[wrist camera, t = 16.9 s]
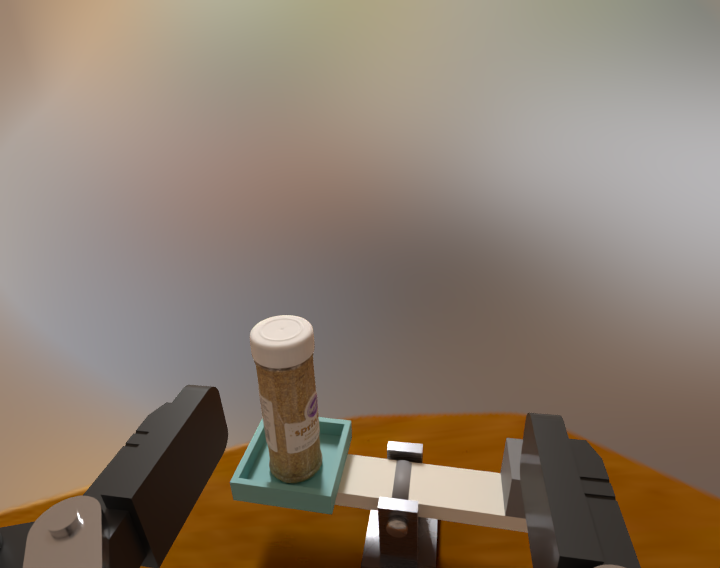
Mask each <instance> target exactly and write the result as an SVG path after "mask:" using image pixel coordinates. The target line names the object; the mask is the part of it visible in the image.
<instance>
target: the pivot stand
mask: <svg viewBox="0 0 720 568" xmlns="http://www.w3.org/2000/svg"><path fill="white" fill-rule="evenodd" d="M387 459H390V460H398V461H399V460H406V461H409V462H414V463H422V460H423V444H414V443H403V442H393V441H388V448H387ZM437 520H438V519H431V518H424V517H418V501H412V500H404V499H395V498H387V497H379V503H378V511H376V510H371V513H370V518H369V524H368V530H367V535H366V541H365V546H364V552H363V558H362V563H361V568H436V549H437Z"/></svg>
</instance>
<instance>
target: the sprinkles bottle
mask: <svg viewBox="0 0 720 568" xmlns="http://www.w3.org/2000/svg"><path fill="white" fill-rule="evenodd" d="M250 345H251V352H252V357H253V359H254V362H255V364H256V369H257V376H258V383H259V396H260V402H261V409H262V416H263V423H264V430H265V436H266V442H267V444H268V449H269V457H270V461H269V467H270V470H271V473H272V474H273V475H274V476H275V477H276V478H277V479H278V480H281V481H282V482H285V483H298V482H303V481H305V480H308V479H310V478H311V477H313V476H314V474H316V473H317V471H318V470H319V469H320V467H321V465H322V453H321V450H320V439H319V432H320V427H319V416H318V404H317V393H316V389H315V377H314V366H313V352H314V334H313V328H312V326H311V324H310V323H309V322H308V321H307V320H305V319H303V318H301V317H297V316H290V315H281V316H275V317H271V318H268V319H265V320H263V321H261V322H259V323H258V324H257V325H256V326H254V328H253V329H252V330H251V333H250Z"/></svg>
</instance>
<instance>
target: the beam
mask: <svg viewBox="0 0 720 568" xmlns="http://www.w3.org/2000/svg"><path fill="white" fill-rule="evenodd" d="M319 427H320V432H319V439H320V450H321V453H322V465H321V467H320V469H319V470H318V471H317V473H316V474H314V476H313V477H311V478H310V479H308V480H305V481H303V482H298V483H285V482H282V481H281V480H278V479H277V478H276V477H275V476H274V475H273V474H272V473H271V470H270V467H269V461H270V457H269V449H268V444H267V442H266V436H265V430H264V423H263V419H262V420H261V422H260V424H259V426H258V428H257V430H256V432H255V434H254V436H253V438H252V440H251V442H250V444H249V446H248V448H247V450H246V452H245V454H244V456H243V458H242V460H241V462H240V463H239V465H238V467H237V469H236V471H235V473H234V475H233V477H232V479H231V481H230V485H231V490H232V495H233V499H234V500H238V501H245V502H252V503H258V504H265V505H272V506H279V507H285V508H292V509H299V510H306V511H312V512H319V513H326V514H332V512H333V508H334V505H341V506H348V507H355V508H362V509H369V510H376V511H378V503H379V497H387V498H395V499H404V500H412V501H418V517H424V518H431V519H438V520H445V521H452V522H459V523H466V524H473V525H479V526H486V527H493V528H500V529H507V530H514V531H521V532H528V530H527V523H526V517H525V510H524V503H523V497H522V490H521V482H520V458H521V451H522V444H523V440H521V439H512V438H506V444H505V450H504V456H503V462H502V468H501V473H493V472H485V471H477V470H469V469H461V468H453V467H445V466H437V465H429V464H422V463H414V462H409V461H406V460H399V461H398V460H390V459H382V458H374V457H366V456H358V455H350V454H348V450H349V446H350V442H351V438H352V430H351V421H349V420H340V419H331V418H322V417H319Z"/></svg>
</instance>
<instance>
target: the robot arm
mask: <svg viewBox="0 0 720 568" xmlns="http://www.w3.org/2000/svg"><path fill="white" fill-rule="evenodd" d="M227 440H228V429H227V424H226V420H225V416H224V412H223V407H222V403H221V399H220V395H219V391H218V389H217V388H216V387H209V386H196V385H187V386H185V387H184V388H183V389H182V391H181V392H180V393H179V394H178V396H177V397H176V398H175V400H174V401H173V402H172V403H165V404H164V405H162V406H161V407H159V408H158V409H157V410H155V411H154V412H153V413H151V414H150V415H148V417H147V418H146V419H145V420H144V421H143V423H142V424H141V425H140V426H139V428H138V429H137V430H136V433H135V434H133V435H132V436H131V437H130V438H129V440H128V441H127V442H126V446H123V447H122V448H121V449H120V451H119V452H118V453H117V455H116V456H115V457H114V458H113V459H112V461H111V462H110V463H109V464H108V465H107V467H106V468H105V469H104V470H103V471H102V473H101V474H100V475H99V476H98V478H97V479H96V480H95V481H94V482H93V484H92V485H91V486H90V487H89V489H88V490H87V491H86V492H85V493H84V494H83V496H76V497H72V498H69V499H66V500H63V501H61V502H59V503H57V504H55V505H54V506H52V507H51V508H49V509H48V510H47V511H45V512H44V513H43V514H42V515H41V516H40V517H39V518H38V519H37V520H36V521H35V522H30V523H25V524H19V525H13V526H7V527H2V528H0V568H140V566H145V567H152V568H159V567H160V566H161V564H162V562H163V560H164V559H165V557H166V555H167V553H168V551H169V550H170V548H171V546H172V544H173V542H174V541H175V539H176V537H177V535H178V534H179V532H180V530H181V528H182V526H183V525H184V523H185V521H186V519H187V517H188V516H189V514H190V512H191V510H192V509H193V507H194V505H195V503H196V501H197V500H198V498H199V496H200V494H201V492H202V491H203V489H204V487H205V485H206V484H207V482H208V480H209V478H210V476H211V475H212V473H213V471H214V469H215V467H216V466H217V464H218V462H219V460H220V459H221V457H222V455H223V453H224V451H225V448H226V445H227ZM520 482H521V490H522V497H523V503H524V510H525V517H526V523H527V530H528V536H529V543H530V549H531V556H532V563H533V568H641V567H640V564H639V562H638V559H637V556H636V553H635V550H634V548H633V545H632V542H631V539H630V536H629V533H628V531H627V528H626V525H625V522H624V519H623V517H622V514H621V511H620V508H619V505H618V503H617V501H616V500H615V494H614V491H613V489H612V486H611V483H609V477H608V475H607V472H606V469H605V466H604V463H603V460H602V458H601V457H600V456H599V455H598V454H597V453H596V451H595V450H594V449H593V448H592V447H591V446H590V444H589V443H588V442H587V441H586V440H576V439H569V438H568V435H567V431H566V428H565V424H564V421H563V418H562V417H561V416H560V415H549V414H536V413H528V414H527V417H526V423H525V430H524V437H523V444H522V451H521V458H520Z"/></svg>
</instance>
